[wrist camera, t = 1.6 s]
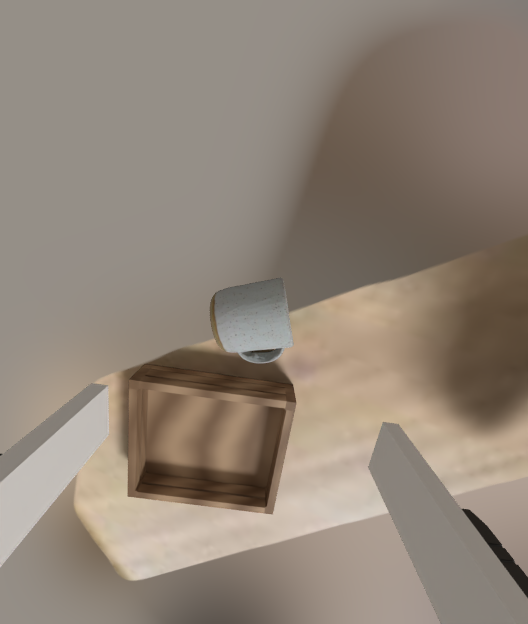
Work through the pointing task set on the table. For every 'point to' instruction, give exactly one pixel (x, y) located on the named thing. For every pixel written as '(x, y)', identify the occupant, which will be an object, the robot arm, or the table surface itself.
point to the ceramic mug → (252, 320)
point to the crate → (207, 438)
